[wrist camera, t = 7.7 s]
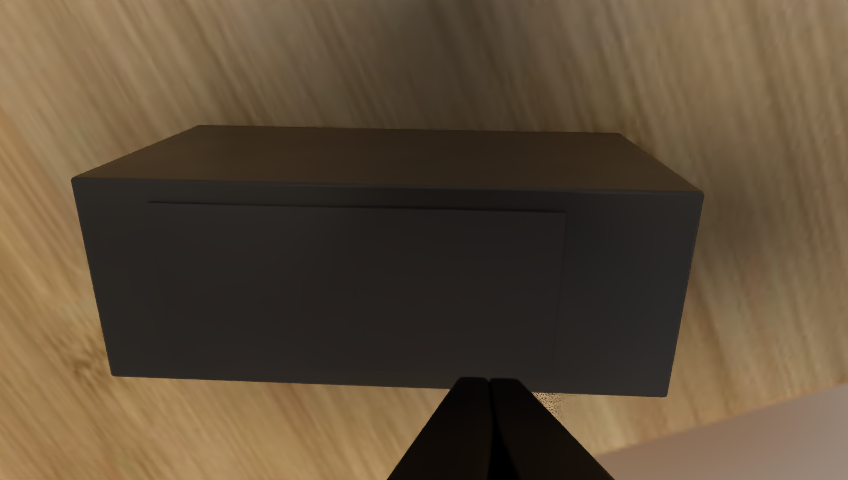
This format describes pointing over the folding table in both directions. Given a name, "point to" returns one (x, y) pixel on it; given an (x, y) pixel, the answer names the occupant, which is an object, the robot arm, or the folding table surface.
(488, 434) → the robot arm
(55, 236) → the folding table surface
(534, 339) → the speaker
